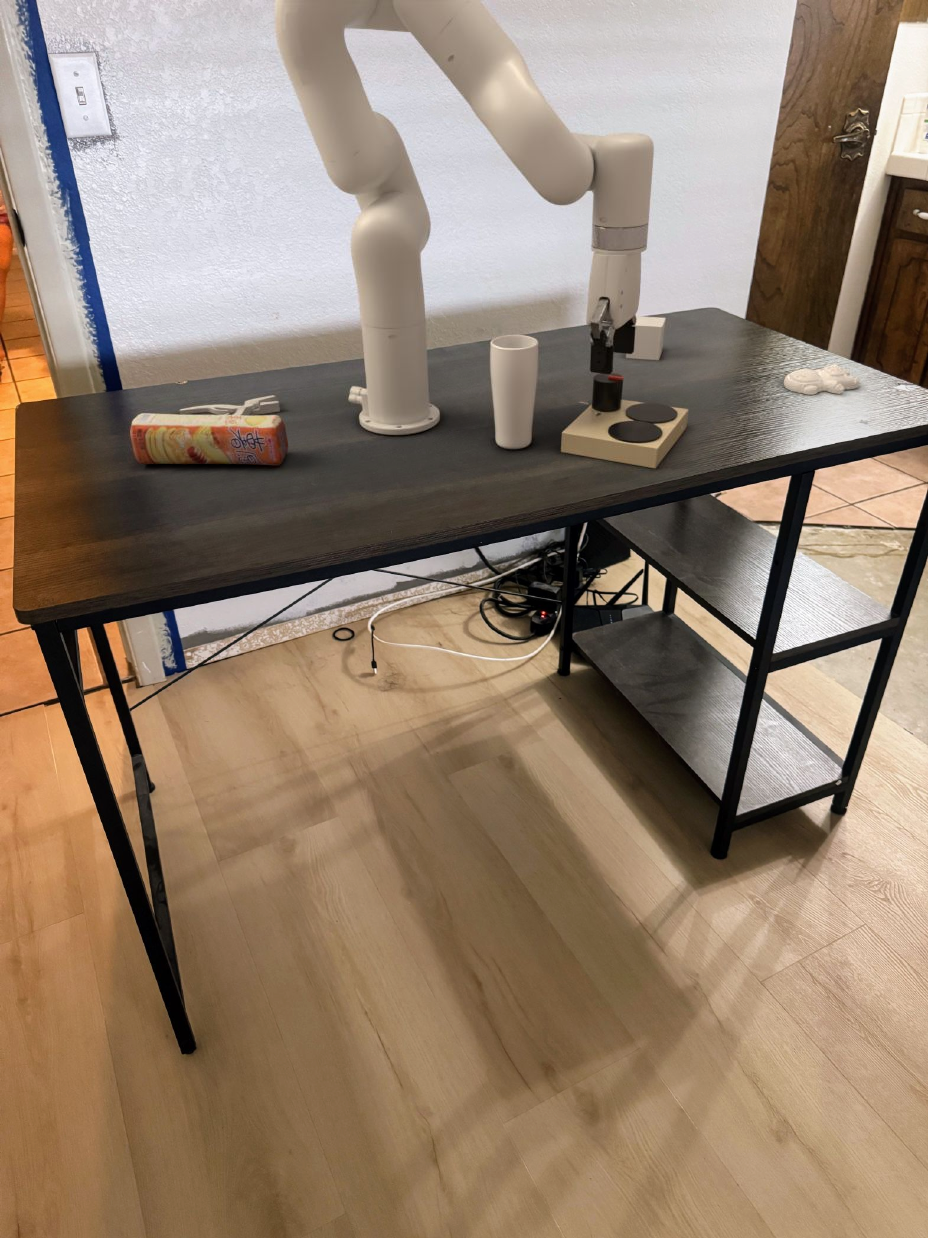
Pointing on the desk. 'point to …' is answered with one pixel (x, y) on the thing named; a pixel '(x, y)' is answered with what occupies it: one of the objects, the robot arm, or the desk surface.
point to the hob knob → (607, 392)
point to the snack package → (208, 439)
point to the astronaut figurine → (820, 380)
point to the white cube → (648, 338)
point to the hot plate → (595, 441)
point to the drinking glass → (513, 388)
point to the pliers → (239, 407)
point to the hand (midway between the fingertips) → (612, 362)
